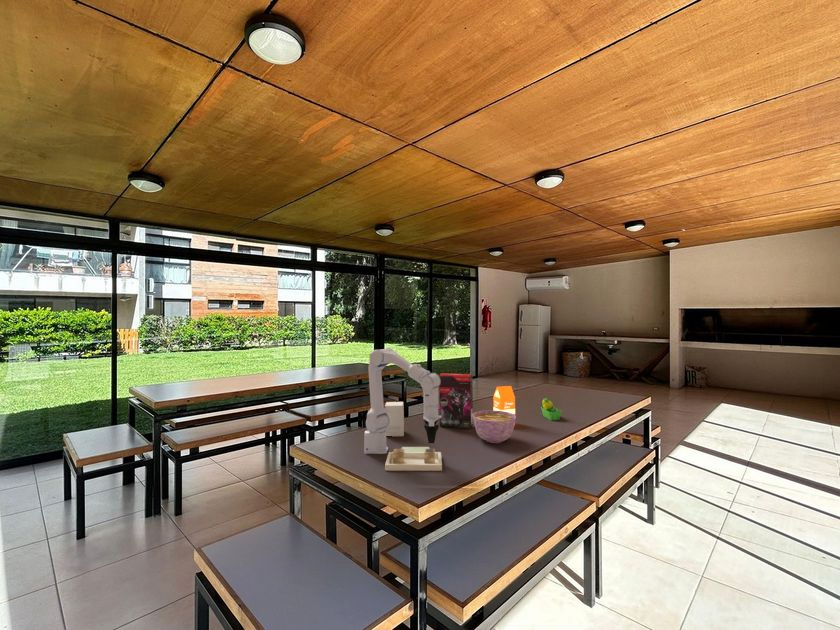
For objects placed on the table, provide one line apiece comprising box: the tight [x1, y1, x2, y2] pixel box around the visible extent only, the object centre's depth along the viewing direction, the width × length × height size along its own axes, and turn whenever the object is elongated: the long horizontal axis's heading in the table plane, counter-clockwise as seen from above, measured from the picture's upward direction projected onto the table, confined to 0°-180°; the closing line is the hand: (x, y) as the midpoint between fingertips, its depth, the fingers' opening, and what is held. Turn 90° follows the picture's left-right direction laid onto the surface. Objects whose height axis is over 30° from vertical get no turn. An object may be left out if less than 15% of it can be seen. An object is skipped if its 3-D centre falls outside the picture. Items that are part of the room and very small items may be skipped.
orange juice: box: [492, 385, 516, 416], centre depth 211 cm, size 8×9×20 cm
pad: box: [401, 446, 430, 452], centre depth 168 cm, size 12×10×1 cm
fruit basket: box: [540, 397, 563, 421], centre depth 223 cm, size 11×9×11 cm
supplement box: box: [384, 401, 405, 437], centre depth 194 cm, size 9×9×15 cm
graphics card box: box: [438, 372, 474, 429], centre depth 207 cm, size 17×7×27 cm, turn 73°
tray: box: [384, 451, 443, 472], centre depth 154 cm, size 21×14×2 cm, turn 89°
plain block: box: [392, 448, 404, 464], centre depth 154 cm, size 4×4×5 cm
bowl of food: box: [473, 409, 517, 444], centre depth 183 cm, size 20×20×12 cm
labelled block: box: [424, 448, 436, 464], centre depth 154 cm, size 4×4×5 cm
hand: (431, 439), depth 155 cm, fingers open, 7 cm apart
